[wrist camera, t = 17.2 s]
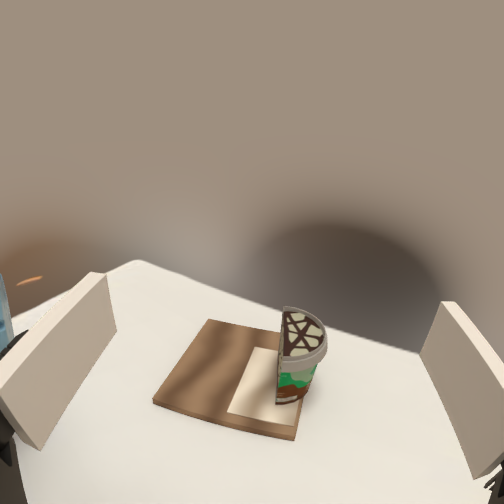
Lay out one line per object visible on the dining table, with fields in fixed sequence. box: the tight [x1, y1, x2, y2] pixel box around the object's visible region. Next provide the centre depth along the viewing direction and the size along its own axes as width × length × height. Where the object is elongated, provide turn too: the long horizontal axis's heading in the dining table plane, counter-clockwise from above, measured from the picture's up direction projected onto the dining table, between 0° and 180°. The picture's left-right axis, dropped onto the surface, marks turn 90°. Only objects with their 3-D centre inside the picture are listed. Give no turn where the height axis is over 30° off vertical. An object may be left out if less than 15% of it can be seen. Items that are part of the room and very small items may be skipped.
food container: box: [275, 306, 327, 405], centre depth 40 cm, size 12×6×10 cm, turn 174°
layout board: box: [152, 319, 303, 441], centre depth 45 cm, size 20×22×1 cm
